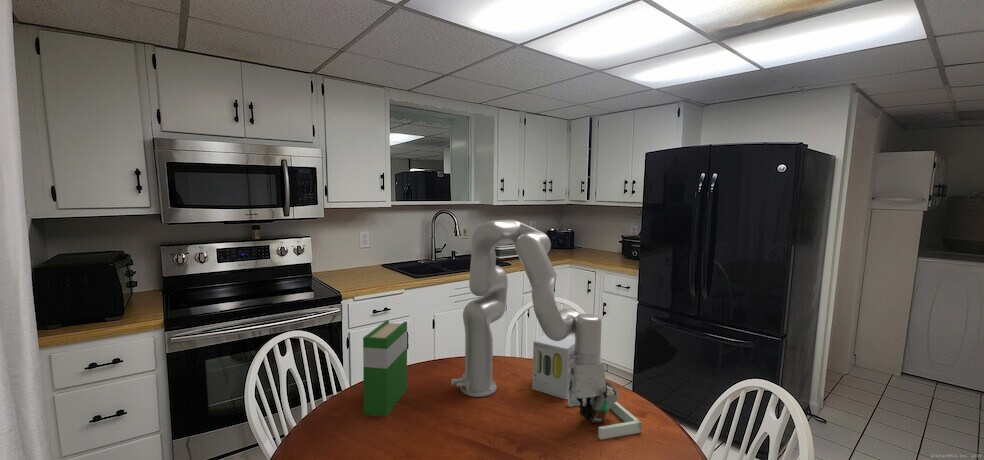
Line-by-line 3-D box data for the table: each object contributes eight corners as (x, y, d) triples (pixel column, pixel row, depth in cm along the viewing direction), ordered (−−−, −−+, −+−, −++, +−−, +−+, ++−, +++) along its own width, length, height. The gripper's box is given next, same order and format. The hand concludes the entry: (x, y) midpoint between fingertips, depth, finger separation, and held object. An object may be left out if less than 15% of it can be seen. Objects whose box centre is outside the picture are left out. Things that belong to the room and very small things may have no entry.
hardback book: (386, 388, 138) (386, 320, 136) (407, 389, 137) (407, 321, 135) (363, 415, 121) (363, 337, 119) (387, 417, 120) (386, 339, 118)
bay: (600, 439, 110) (600, 429, 109) (567, 405, 128) (567, 396, 128) (641, 432, 113) (641, 422, 113) (603, 400, 132) (603, 391, 132)
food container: (612, 431, 116) (627, 401, 115) (594, 425, 115) (608, 395, 114) (596, 405, 128) (608, 378, 127) (579, 400, 127) (592, 372, 126)
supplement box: (531, 389, 139) (532, 340, 138) (547, 376, 150) (548, 330, 149) (566, 400, 131) (568, 348, 130) (581, 385, 142) (582, 337, 141)
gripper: (570, 364, 112) (568, 427, 113) (616, 359, 116) (614, 419, 117) (558, 354, 119) (557, 413, 120) (602, 349, 123) (601, 407, 124)
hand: (585, 416), depth 119 cm, fingers closed
